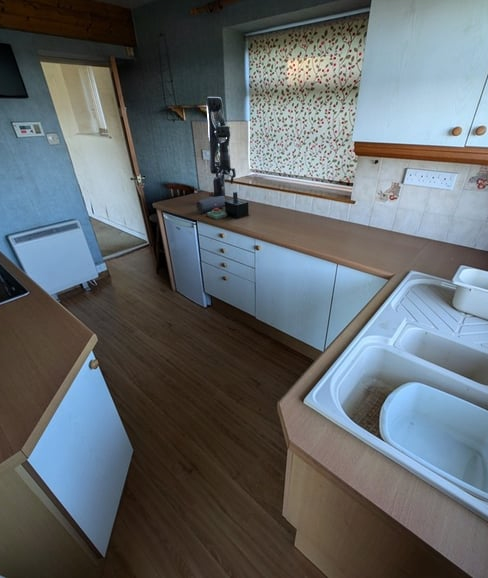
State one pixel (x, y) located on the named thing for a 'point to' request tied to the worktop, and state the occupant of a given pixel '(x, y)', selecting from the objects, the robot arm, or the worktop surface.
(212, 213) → the button block
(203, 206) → the bluetooth speaker
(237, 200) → the toaster
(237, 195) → the slider
